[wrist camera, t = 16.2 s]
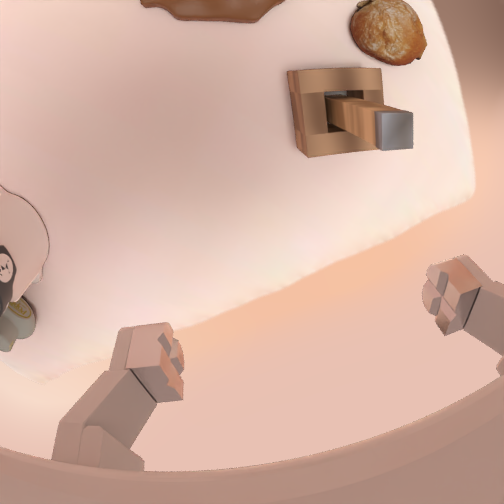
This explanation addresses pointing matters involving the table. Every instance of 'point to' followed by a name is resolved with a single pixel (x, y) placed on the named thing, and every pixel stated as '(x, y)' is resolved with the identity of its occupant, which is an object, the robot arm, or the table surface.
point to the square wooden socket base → (314, 111)
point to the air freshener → (16, 324)
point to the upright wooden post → (371, 121)
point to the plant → (215, 9)
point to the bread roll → (388, 31)
